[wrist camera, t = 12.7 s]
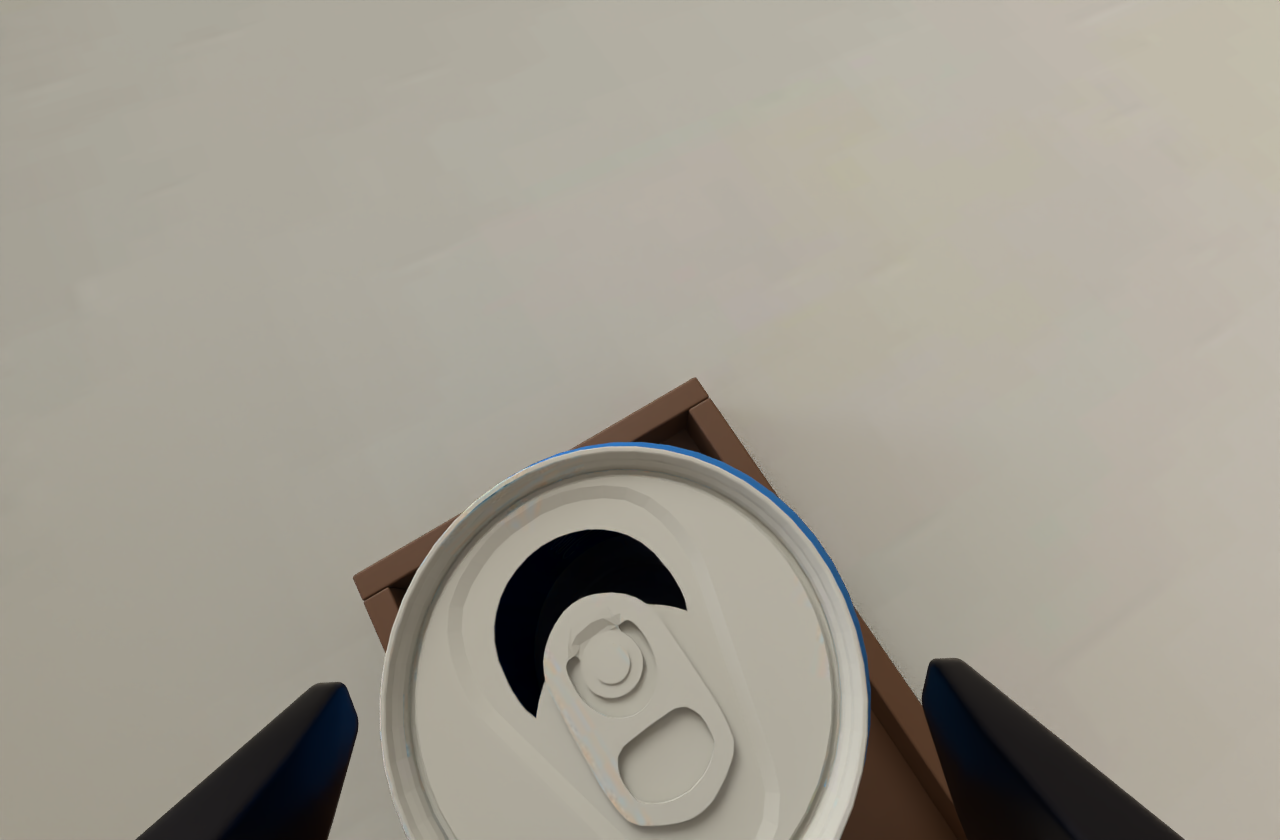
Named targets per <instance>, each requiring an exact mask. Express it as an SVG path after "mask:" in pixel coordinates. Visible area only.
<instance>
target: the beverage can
mask: <svg viewBox="0 0 1280 840" xmlns="http://www.w3.org/2000/svg"><path fill="white" fill-rule="evenodd" d="M870 711H871V688H870V679H869V669H868V660H867V654H866V649H865V645H864V641H863V637H862V632H861V628H860V624H859V621H858V618H857V615H856V612H855V610H854V607H853V604H852V601H851V599H850V596H849V593H848V591H847V589H846V587H845V585H844V583H843V581H842V579H841V577H840V575H839V573H838V571H837V569H836V567H835V565H834V563H833V562H832V560H831V559H830V557H829V556H828V554H827V553H826V551H825V550H824V548H823V547H822V545H821V544H820V542H819V541H818V539H817V538H816V536H815V535H814V534H813V533H812V532H811V531H810V529H809V528H808V527H807V526H806V525H805V524H804V522H803V521H802V520H801V519H800V518H799V517H798V515H797V514H796V513H795V512H794V511H793V510H791V509H790V508H789V507H788V506H787V505H786V504H785V503H784V502H783V501H782V500H780V499H779V498H778V497H777V496H776V495H775V494H774V493H773V492H771V491H770V490H768V489H767V488H766V487H764V486H763V485H761V484H760V483H758V482H757V481H756V480H754V479H753V478H751V477H750V476H748V475H747V474H745V473H743V472H741V471H739V470H737V469H735V468H733V467H732V466H730V465H728V464H726V463H724V462H722V461H719V460H717V459H714V458H711V457H709V456H706V455H703V454H701V453H698V452H695V451H691V450H687V449H683V448H679V447H675V446H670V445H663V444H654V443H646V442H613V443H605V444H598V445H591V446H585V447H581V448H577V449H574V450H570V451H566V452H562V453H559V454H556V455H554V456H551V457H549V458H546V459H544V460H541V461H539V462H537V463H534V464H532V465H530V466H528V467H526V468H525V469H523V470H521V471H519V472H518V473H516V474H514V475H512V476H510V477H509V478H507V479H506V480H504V481H502V482H500V483H499V484H498V485H496V486H495V487H493V488H492V489H491V490H489V491H488V492H487V493H485V494H484V495H483V496H481V497H480V498H478V499H477V500H476V501H475V502H474V503H473V504H472V505H470V506H469V507H468V508H467V509H466V510H465V511H464V512H463V513H462V514H461V515H460V516H459V517H458V518H457V519H455V520H454V522H453V523H452V524H451V525H450V526H449V527H448V529H447V530H446V531H445V532H444V533H443V535H442V536H441V537H440V538H439V539H438V541H437V542H436V543H435V544H434V546H433V547H432V549H431V550H430V552H429V553H428V555H427V556H426V558H425V559H424V561H423V562H422V564H421V565H420V567H419V568H418V570H417V572H416V574H415V576H414V578H413V580H412V582H411V584H410V586H409V588H408V590H407V592H406V594H405V596H404V598H403V600H402V602H401V605H400V608H399V611H398V613H397V616H396V619H395V622H394V624H393V627H392V630H391V634H390V638H389V642H388V647H387V651H386V655H385V659H384V664H383V673H382V681H381V690H380V738H381V746H382V755H383V763H384V769H385V773H386V777H387V781H388V785H389V789H390V793H391V797H392V801H393V804H394V806H395V809H396V812H397V814H398V817H399V819H400V822H401V825H402V827H403V830H404V832H405V835H406V837H407V839H408V840H840V839H841V836H842V834H843V831H844V829H845V826H846V824H847V822H848V819H849V817H850V814H851V812H852V809H853V807H854V803H855V799H856V796H857V792H858V788H859V784H860V781H861V777H862V773H863V768H864V764H865V760H866V753H867V746H868V738H869V731H870Z"/></svg>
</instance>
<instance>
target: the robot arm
mask: <svg viewBox="0 0 1280 840" xmlns="http://www.w3.org/2000/svg"><path fill="white" fill-rule="evenodd" d="M922 707H923V711H924V715H925V718H926V721H927V724H928V727H929V730H930V733H931V736H932V739H933V742H934V745H935V749H936V752H937V755H938V758H939V761H940V764H941V767H942V770H943V773H944V776H945V779H946V783H947V786H948V789H949V792H950V795H951V798H952V801H953V804H954V807H955V810H956V812H957V815H958V818H959V821H960V823H961V825H962V828H963V830H964V833H965V835H966V838H967V840H1185V839H1183V838H1182V837H1181V836H1180V835H1179V834H1177V833H1176V832H1175V831H1174V830H1172V829H1171V828H1170V827H1169V826H1167V825H1166V824H1165V823H1164V822H1162V821H1161V820H1160V819H1159V818H1157V817H1156V816H1155V815H1154V814H1152V813H1151V812H1150V811H1149V810H1148V809H1146V808H1145V807H1144V806H1143V805H1141V804H1140V803H1139V802H1138V801H1136V800H1135V799H1134V798H1133V797H1131V796H1130V795H1129V794H1128V793H1126V792H1125V791H1124V790H1123V789H1121V788H1120V787H1119V786H1118V785H1117V784H1115V783H1114V782H1113V781H1112V780H1110V779H1109V778H1108V777H1107V776H1105V775H1104V774H1103V773H1102V772H1100V771H1099V770H1098V769H1097V768H1095V767H1094V766H1093V765H1092V764H1091V763H1089V762H1088V761H1087V760H1086V759H1084V758H1083V757H1082V756H1081V755H1079V754H1078V753H1077V752H1076V751H1074V750H1073V749H1072V748H1071V747H1069V746H1068V745H1067V744H1066V743H1064V742H1063V741H1062V740H1061V739H1060V738H1058V737H1057V736H1056V735H1055V734H1053V733H1052V732H1051V731H1050V730H1048V729H1047V728H1046V727H1045V726H1043V725H1042V724H1041V723H1040V722H1038V721H1037V720H1036V719H1035V718H1034V717H1032V716H1031V715H1030V714H1029V713H1027V712H1026V711H1025V710H1024V709H1022V708H1021V707H1020V706H1019V705H1017V704H1016V703H1015V702H1014V701H1012V700H1011V699H1010V698H1009V697H1007V696H1006V695H1005V694H1004V693H1003V692H1001V691H1000V690H999V689H998V688H996V687H995V686H994V685H993V684H991V683H990V682H989V681H988V680H986V679H985V678H984V677H983V676H981V675H980V674H979V673H978V672H976V671H975V670H974V669H973V668H972V667H970V666H969V665H968V664H967V663H965V662H964V661H962V660H960V659H958V658H940V659H933V660H932V661H931V662H930V663H929V666H928V670H927V675H926V679H925V684H924V688H923V693H922ZM357 732H358V717H357V713H356V711H355V708H354V706H353V703H352V700H351V698H350V695H349V692H348V690H347V687H346V686H345V685H344V684H343V683H341V682H329V683H318V684H315V685H313V686H312V687H310V688H309V689H308V690H307V691H306V692H305V693H303V694H302V695H301V696H300V697H299V698H298V699H297V700H295V701H294V702H293V703H292V704H291V705H290V706H288V707H287V708H286V709H285V710H284V711H283V712H282V713H280V714H279V715H278V716H277V717H276V718H275V719H274V720H272V721H271V722H270V723H269V724H268V725H267V726H266V727H264V728H263V729H262V730H261V731H260V732H259V733H257V734H256V735H255V736H254V737H253V738H252V739H251V740H249V741H248V742H247V743H246V744H245V745H244V746H243V747H241V748H240V749H239V750H238V751H237V752H236V753H234V754H233V755H232V756H231V757H230V758H229V759H228V760H226V761H225V762H224V763H223V764H222V765H221V766H220V767H218V768H217V769H216V770H215V771H214V772H213V773H211V774H210V775H209V776H208V777H207V778H206V779H205V780H203V781H202V782H201V783H200V784H199V785H198V786H197V787H195V788H194V789H193V790H192V791H191V792H190V793H188V794H187V795H186V796H185V797H184V798H183V799H182V800H180V801H179V802H178V803H177V804H176V805H175V806H174V807H172V808H171V809H170V810H169V811H168V812H167V813H165V814H164V815H163V816H162V817H161V818H160V819H159V820H157V821H156V822H155V823H154V824H153V825H152V826H151V827H149V828H148V829H147V830H146V831H145V832H144V833H143V834H141V835H140V836H139V837H138V838H137V839H136V840H327V839H328V836H329V833H330V829H331V826H332V823H333V819H334V816H335V812H336V808H337V805H338V801H339V798H340V794H341V790H342V787H343V783H344V780H345V776H346V772H347V769H348V765H349V762H350V758H351V754H352V751H353V747H354V743H355V740H356V736H357Z"/></svg>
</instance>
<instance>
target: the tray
mask: <svg viewBox="0 0 1280 840" xmlns="http://www.w3.org/2000/svg"><path fill="white" fill-rule="evenodd" d="M613 442H646V443H654V444H663V445H670V446H675V447H679V448H683V449H687V450H691V451H695V452H698V453H701V454H703V455H706V456H709V457H711V458H714V459H717V460H719V461H722V462H724V463H726V464H728V465H730V466H732V467H733V468H735V469H737V470H739V471H741V472H743V473H745V474H747V475H748V476H750V477H751V478H753V479H754V480H756V481H757V482H758V483H760V484H761V485H763V486H764V487H766V488H767V489H768V490H770V491H771V492H773V493H774V494H775V495H776V496H777V494H776V493H775V491H774V490H773V489H772V487H771V486H770V484H769V483H768V481H767V480H766V478H765V477H764V475H763V474H762V473H761V471H760V470H759V468H758V467H757V465H756V464H755V462H754V461H753V460H752V458H751V457H750V455H749V454H748V452H747V451H746V449H745V448H744V446H743V445H742V444H741V442H740V441H739V439H738V438H737V436H736V435H735V433H734V432H733V430H732V429H731V428H730V426H729V425H728V423H727V422H726V420H725V419H724V417H723V416H722V415H721V413H720V412H719V410H718V409H717V407H716V406H715V404H714V403H713V401H712V400H711V399H710V398H709V396H708V394H707V393H706V391H705V390H704V388H703V387H702V385H701V384H700V382H699V381H698V380H697V378H692V379H691V380H689V381H687V382H686V383H684V384H682V385H680V386H679V387H677V388H675V389H674V390H672V391H670V392H668V393H667V394H665V395H663V396H661V397H660V398H658V399H656V400H655V401H653V402H651V403H649V404H648V405H646V406H644V407H643V408H641V409H639V410H637V411H636V412H634V413H632V414H631V415H629V416H627V417H625V418H624V419H622V420H620V421H619V422H617V423H615V424H613V425H612V426H610V427H608V428H607V429H605V430H603V431H601V432H600V433H598V434H596V435H594V436H593V437H591V438H589V439H588V440H586V441H584V442H582V443H581V444H579V445H577V446H576V447H574V448H572V449H570V450H574V449H577V448H581V447H585V446H591V445H598V444H605V443H613ZM570 450H569V451H570ZM777 497H778V496H777ZM778 498H779V497H778ZM462 513H463V512H462ZM462 513H460V514H459V515H457V516H455V517H454V518H452V519H450V520H448V521H447V522H445V523H443V524H442V525H440V526H438V527H436V528H435V529H433V530H431V531H430V532H428V533H426V534H424V535H423V536H421V537H419V538H418V539H416V540H414V541H412V542H411V543H409V544H407V545H406V546H404V547H402V548H400V549H399V550H397V551H395V552H393V553H392V554H390V555H388V556H387V557H385V558H383V559H381V560H380V561H378V562H376V563H375V564H373V565H371V566H369V567H368V568H366V569H364V570H363V571H361V572H359V573H357V574H356V575H354V576H353V579H354V582H355V584H356V586H357V588H358V591H359V593H360V595H361V598H362V600H364V605H365V607H366V609H367V612H368V614H369V616H370V619H371V621H372V623H373V625H374V628H375V630H376V632H377V635H378V637H379V639H380V641H381V644H382V646H383V648H384V651H385V653H386V651H387V647H388V642H389V638H390V634H391V630H392V627H393V624H394V622H395V619H396V616H397V613H398V611H399V608H400V605H401V602H402V600H403V598H404V596H405V594H406V592H407V590H408V588H409V586H410V584H411V582H412V580H413V578H414V576H415V574H416V572H417V570H418V568H419V567H420V565H421V564H422V562H423V561H424V559H425V558H426V556H427V555H428V553H429V552H430V550H431V549H432V547H433V546H434V544H435V543H436V542H437V541H438V539H439V538H440V537H441V536H442V535H443V533H444V532H445V531H446V530H447V529H448V527H449V526H450V525H451V524H452V523H453V522H454V520H455V519H457V518H458V517H459V516H460V515H461V514H462ZM853 607H854V606H853ZM854 610H855V612H856V615H857V618H858V621H859V624H860V628H861V632H862V637H863V641H864V645H865V649H866V654H867V660H868V669H869V679H870V688H871V711H870V731H869V738H868V746H867V753H866V760H865V764H864V768H863V773H862V777H861V781H860V784H859V788H858V792H857V796H856V799H855V803H854V807H853V809H852V812H851V814H850V817H849V819H848V822H847V824H846V826H845V829H844V831H843V834H842V836H841V839H840V840H967V838H966V835H965V833H964V830H963V828H962V825H961V823H960V821H959V818H958V815H957V812H956V810H955V807H954V804H953V801H952V798H951V795H950V792H949V789H948V786H947V783H946V779H945V776H944V773H943V770H942V767H941V764H940V761H939V758H938V755H937V752H936V749H935V745H934V742H933V739H932V736H931V733H930V730H929V727H928V724H927V721H926V718H925V715H924V711H923V707H922V705H921V703H920V702H919V700H918V699H917V698H916V696H915V695H914V693H913V692H912V690H911V689H910V687H909V686H908V685H907V683H906V682H905V680H904V679H903V677H902V676H901V674H900V673H899V671H898V670H897V669H896V667H895V666H894V664H893V663H892V661H891V660H890V658H889V657H888V655H887V654H886V653H885V651H884V650H883V648H882V647H881V645H880V644H879V642H878V641H877V640H876V638H875V637H874V635H873V634H872V632H871V631H870V629H869V628H868V626H867V625H866V624H865V622H864V621H863V619H862V618H861V616H860V615H859V613H858V612H857V610H856V609H855V608H854Z"/></svg>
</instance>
